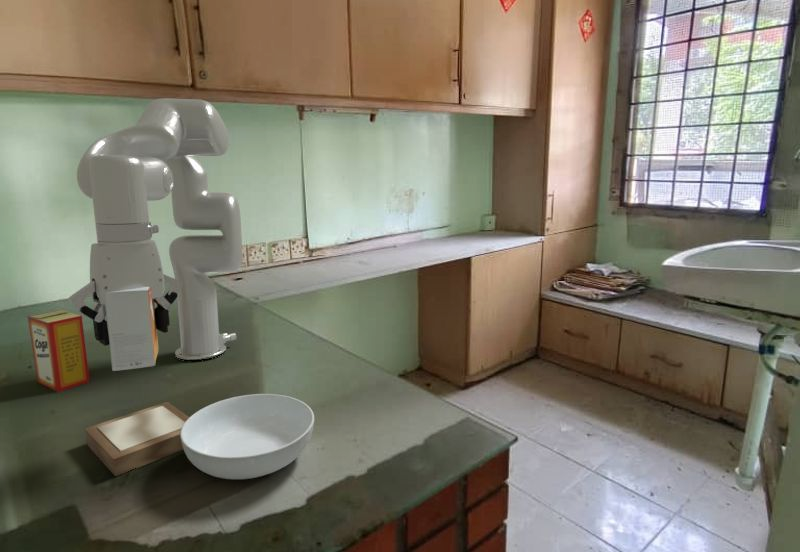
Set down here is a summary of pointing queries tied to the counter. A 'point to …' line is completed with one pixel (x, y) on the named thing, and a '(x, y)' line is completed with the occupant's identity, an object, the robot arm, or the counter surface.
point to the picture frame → (137, 437)
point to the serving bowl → (247, 435)
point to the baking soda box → (59, 349)
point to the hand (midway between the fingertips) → (134, 336)
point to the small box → (131, 328)
